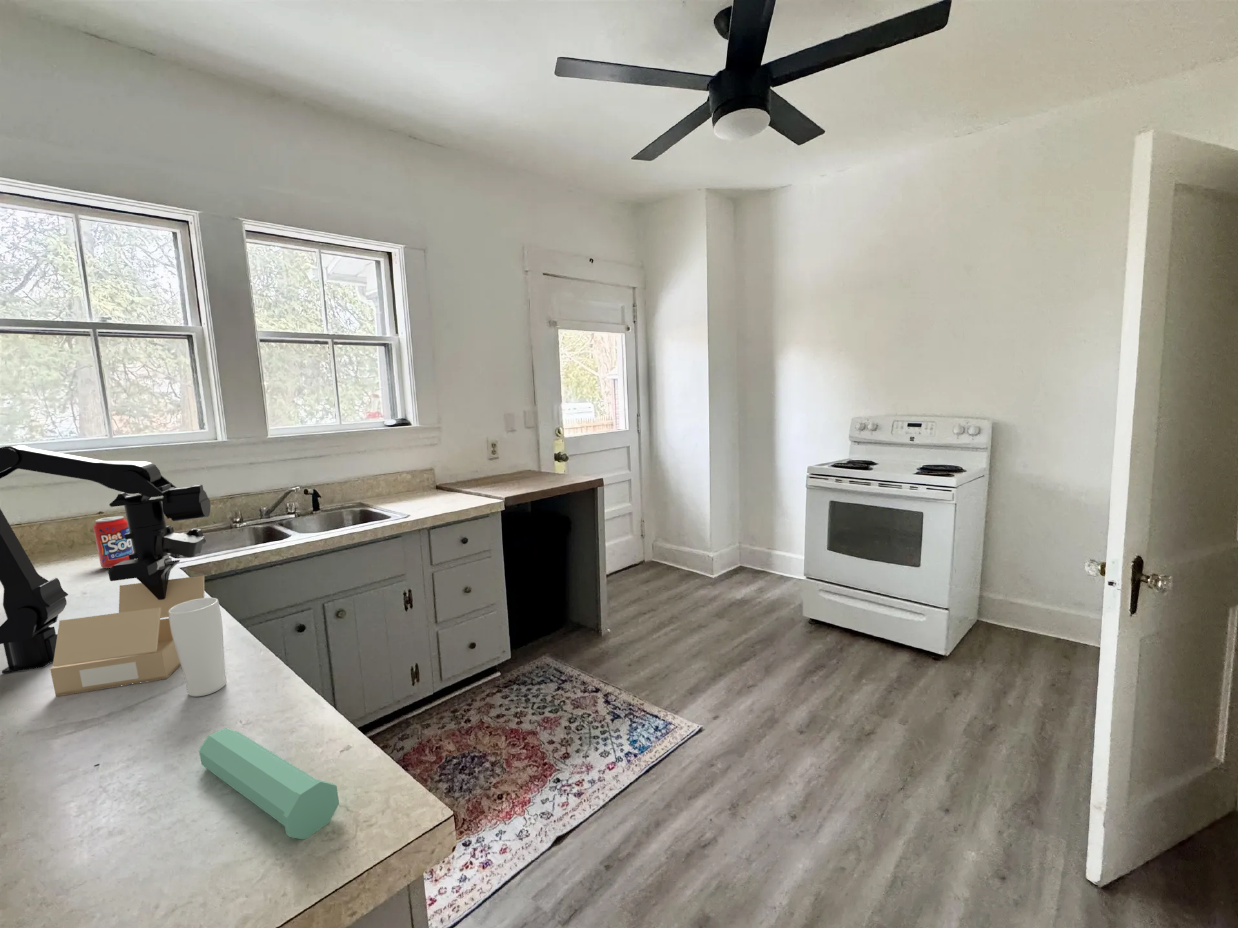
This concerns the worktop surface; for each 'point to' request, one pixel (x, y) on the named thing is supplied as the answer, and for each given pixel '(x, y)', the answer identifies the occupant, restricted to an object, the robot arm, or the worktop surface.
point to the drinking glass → (199, 644)
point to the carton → (119, 668)
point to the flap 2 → (176, 593)
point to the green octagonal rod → (270, 782)
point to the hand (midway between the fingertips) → (161, 599)
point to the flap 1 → (107, 636)
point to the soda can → (112, 540)
